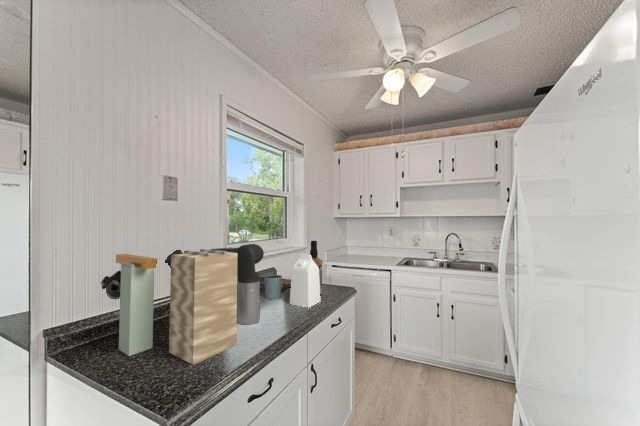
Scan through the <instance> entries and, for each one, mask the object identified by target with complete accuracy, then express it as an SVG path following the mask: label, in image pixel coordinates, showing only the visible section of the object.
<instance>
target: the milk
mask: <svg viewBox="0 0 640 426" xmlns="http://www.w3.org/2000/svg"><path fill="white" fill-rule="evenodd" d="M290 282H291V288H290V293H289V294H290V295H289V305H290V304H292V305H291V306H294V305H297V306H296V307H299V306H302V307H301V308H304V307H308V308H307V309H310V308H312V307H311V306H313V305H315V304H317V303H319V302H321V303H322V301H321V300H322V299H321V296H320V278H319V268H318V266H317V265H316V263H315V262H314V261H313V260H312V257H311V255H310V253H301V254H299V257H298V259H297V260H296V262H295V264H294V265H293V267H292V269H291V278H290ZM319 304H320V303H319ZM317 305H318V304H317ZM315 306H316V305H315ZM309 307H310V308H309ZM313 307H314V306H313Z"/></svg>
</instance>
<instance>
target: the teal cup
mask: <svg viewBox="0 0 640 426" xmlns="http://www.w3.org/2000/svg"><path fill="white" fill-rule="evenodd" d="M282 278H283V276H282V275H281V274H270V275H265V276H263V281H264V291H265V298H267V300H278V299H277V298H279V299H280V297H282V292H281V281H283V280H282Z"/></svg>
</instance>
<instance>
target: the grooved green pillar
mask: <svg viewBox="0 0 640 426" xmlns="http://www.w3.org/2000/svg"><path fill="white" fill-rule="evenodd" d="M120 271H121V287H120V305H119V326H118V327H119V331H118V351H120V352H122V353H123V354H125V355H126V356H128V357H131V356H133V355H137V354H140V353H142V352H145V351H148V350H151V349H153V345H154V344H153V343H154V341H153V340H154V339H153V338H154V337H153V336H154V305H155V304H154V301H155V297H154V296H155V273H154V268H150V269H144V268H139V267H135V265H134V264H129V263H121V264H120Z"/></svg>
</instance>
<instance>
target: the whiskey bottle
mask: <svg viewBox="0 0 640 426" xmlns="http://www.w3.org/2000/svg"><path fill="white" fill-rule="evenodd" d="M318 254H319V253H318V241H317V240H311V241H310V250H309V255H311V257H312V260H313V261H314V262H315V263H316V265H317V266H318V268H319V278H320V294H321V293H322V291H323V292H324V286H323V264H324V263H323V262H324V261H323V260H322V259H321V258H319V257H318ZM322 294H323V293H322Z"/></svg>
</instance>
